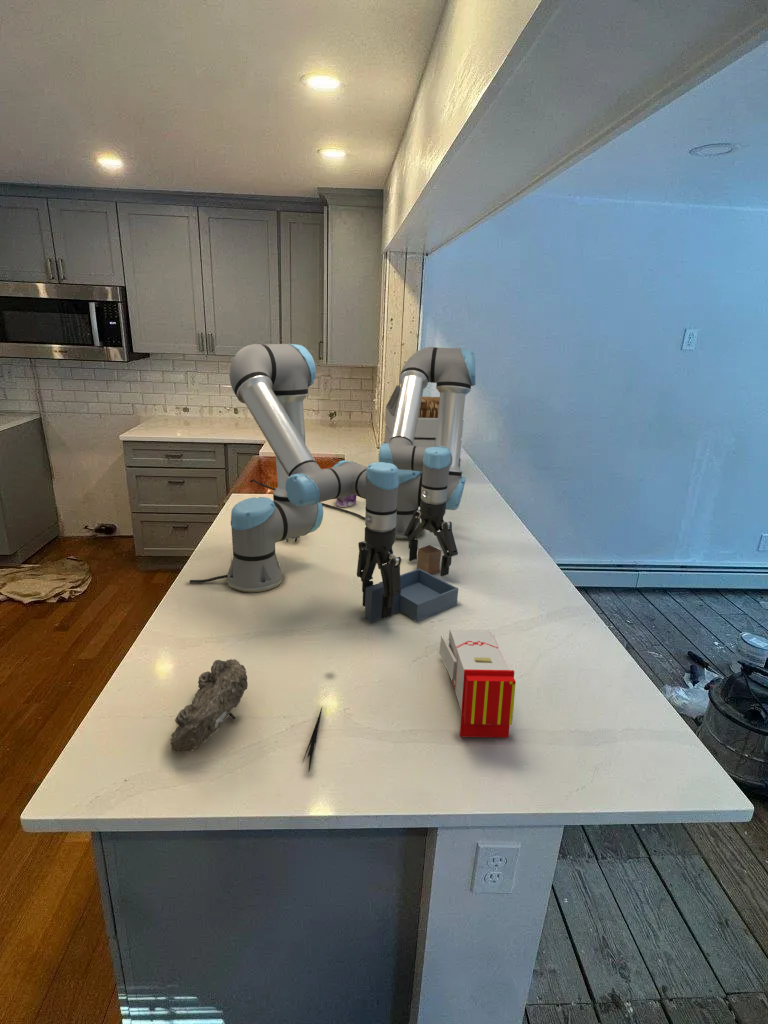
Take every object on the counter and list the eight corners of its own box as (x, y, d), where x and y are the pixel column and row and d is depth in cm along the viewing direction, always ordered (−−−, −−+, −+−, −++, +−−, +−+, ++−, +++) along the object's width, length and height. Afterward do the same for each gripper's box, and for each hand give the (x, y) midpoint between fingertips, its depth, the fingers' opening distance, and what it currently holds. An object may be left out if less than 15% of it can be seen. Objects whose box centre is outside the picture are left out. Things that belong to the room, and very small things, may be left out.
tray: (349, 609, 149) (349, 578, 146) (418, 583, 165) (420, 554, 162) (386, 634, 138) (388, 601, 135) (457, 604, 154) (459, 574, 151)
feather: (331, 679, 122) (336, 673, 122) (307, 777, 96) (313, 769, 95) (324, 675, 122) (329, 669, 121) (298, 772, 95) (304, 764, 95)
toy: (489, 613, 130) (525, 677, 101) (485, 667, 133) (518, 744, 104) (437, 612, 130) (457, 676, 101) (434, 666, 133) (453, 743, 103)
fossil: (195, 660, 117) (247, 628, 112) (227, 691, 120) (279, 661, 115) (146, 746, 98) (206, 711, 93) (185, 779, 101) (245, 748, 96)
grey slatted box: (381, 463, 289) (385, 382, 275) (444, 464, 292) (450, 384, 279) (389, 482, 257) (393, 392, 243) (459, 483, 261) (467, 394, 247)
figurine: (339, 509, 221) (340, 472, 216) (329, 501, 229) (330, 465, 224) (361, 506, 225) (362, 470, 220) (351, 498, 234) (352, 463, 228)
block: (416, 569, 173) (417, 548, 171) (428, 565, 176) (429, 544, 174) (428, 575, 170) (429, 554, 167) (439, 571, 173) (441, 550, 170)
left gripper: (343, 518, 142) (341, 599, 149) (396, 543, 128) (391, 632, 135) (366, 512, 146) (364, 591, 154) (419, 536, 132) (413, 622, 140)
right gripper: (395, 492, 172) (391, 556, 179) (456, 515, 154) (449, 585, 161) (413, 488, 176) (409, 551, 183) (474, 510, 159) (467, 578, 166)
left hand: (376, 610), depth 145 cm, fingers open, 7 cm apart
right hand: (428, 567), depth 172 cm, fingers open, 13 cm apart
